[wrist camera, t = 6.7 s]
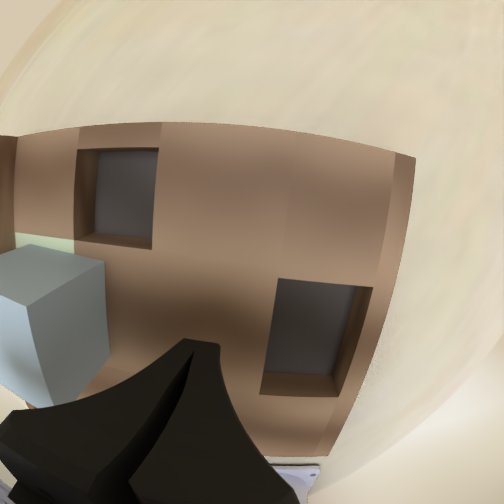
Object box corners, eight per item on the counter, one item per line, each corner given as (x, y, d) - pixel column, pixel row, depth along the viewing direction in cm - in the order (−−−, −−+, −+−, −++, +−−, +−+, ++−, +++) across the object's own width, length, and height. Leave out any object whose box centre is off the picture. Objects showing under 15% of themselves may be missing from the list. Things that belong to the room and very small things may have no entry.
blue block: (110, 356, 12) (60, 420, 7) (40, 329, 12) (-14, 373, 7) (104, 260, 11) (26, 306, 6) (30, 243, 11) (-43, 271, 6)
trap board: (323, 434, 15) (332, 479, 12) (58, 384, 16) (32, 415, 12) (395, 160, 11) (443, 155, 7) (32, 140, 11) (-16, 137, 8)
